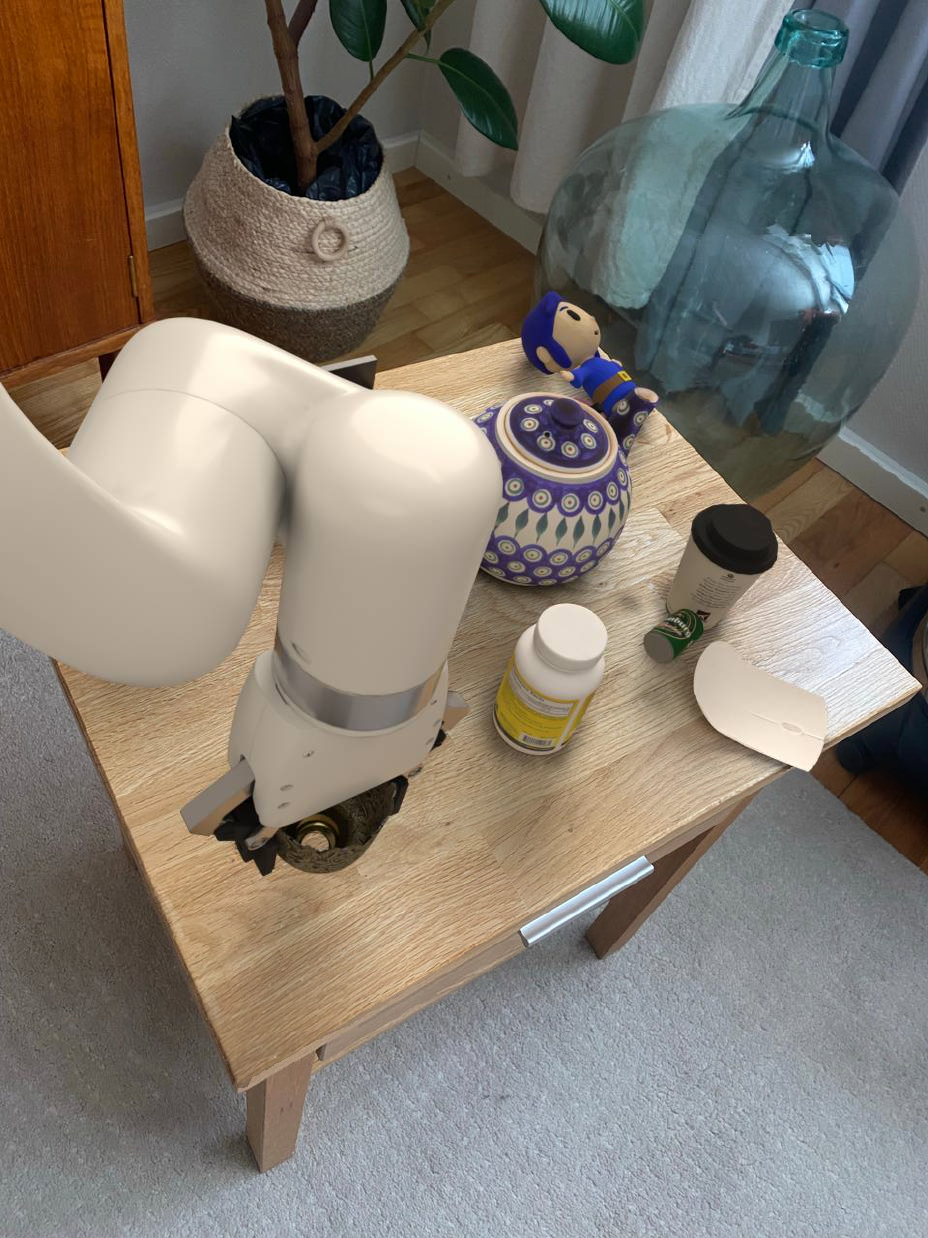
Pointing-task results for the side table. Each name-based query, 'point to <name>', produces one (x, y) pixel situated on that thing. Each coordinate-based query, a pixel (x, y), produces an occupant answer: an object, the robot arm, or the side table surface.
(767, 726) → the computer mouse
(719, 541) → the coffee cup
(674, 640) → the beer can
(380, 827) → the ornate candle holder
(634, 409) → the teapot
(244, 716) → the robot arm
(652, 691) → the side table surface
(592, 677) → the pill bottle
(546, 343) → the toy
